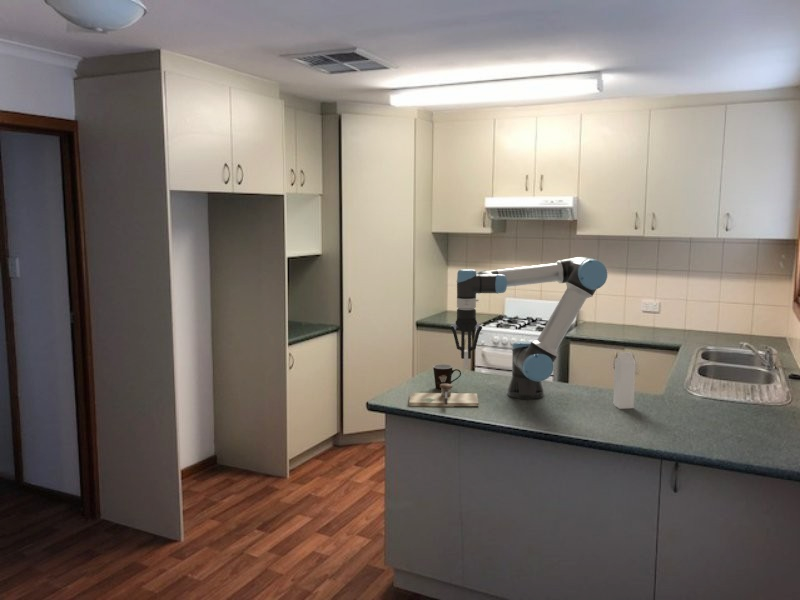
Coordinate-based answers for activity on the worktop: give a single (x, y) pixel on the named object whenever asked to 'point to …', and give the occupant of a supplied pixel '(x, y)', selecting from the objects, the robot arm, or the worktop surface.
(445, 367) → the coffee mug
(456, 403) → the wooden board
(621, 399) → the milk
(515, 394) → the robot arm
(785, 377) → the worktop surface
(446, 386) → the dark grey square rod
